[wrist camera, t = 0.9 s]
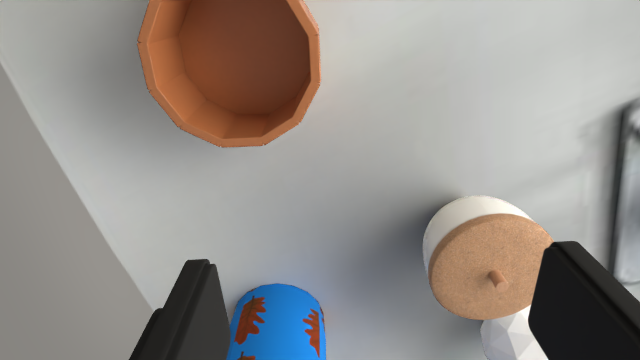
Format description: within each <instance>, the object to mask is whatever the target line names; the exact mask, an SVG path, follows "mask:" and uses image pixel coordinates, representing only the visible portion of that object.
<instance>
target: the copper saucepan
mask: <svg viewBox="0 0 640 360" xmlns="http://www.w3.org/2000/svg"><path fill="white" fill-rule="evenodd" d="M137 41H138V42H139V43H137V46H138V50H139V54H140V59H141V63H142V67H143V71H144V76H145V80H146V84H147V89H148V90H150V91H149V93H150V94H151V95H152V96H153V97H154V99H155V100H156V101H157V102H158V103H159V105H160V106H161V107H162V108H163V110H164V111H165V112H166V113H167V114H168V116H169V117H170V118H171V119H172V120H173V122H174V123H175V124H176V125H177V127H180V126H181V127H180V129H182V130H184V131H186V132H188V133H190V134H192V135H195V136H197V137H199V138H201V139H203V140H205V141H208V142H210V143H212V144H214V145H216V146H218V147H220V146H221V147H246V146H263V144H264V145H266V144H268V143H269V142H271V141H272V140H274V139H276V138H277V137H279V136H280V135H282V134H284V133H285V132H287V131H288V130H290V129H292V128H293V127H295V126H296V125H298V124H299V122H301V121H302V119H303V117H304V115H305V113H306V111H307V109H308V107H309V105H310V103H311V101H312V99H313V97H314V96H315V94H316V92H317V90H318V88H319V86H320V82H321V72H320V44H319V28H318V25H317V23H316V21H315V19H314V18H313V16H312V14H311V13H310V11H309V9H308V7H307V6H306V4H305V3H304V1H303V0H149V3H148V7H147V10H146V13H145V17H144V20H143V23H142V26H141V30H140V33H139V36H138V40H137Z"/></svg>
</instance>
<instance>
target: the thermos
mask: <svg viewBox="0 0 640 360" xmlns="http://www.w3.org/2000/svg"><path fill="white" fill-rule="evenodd" d="M230 332H231V341H230V347H229V351H228V355H227V359H226V360H326V339H325V327H324V316H323V311H322V309H321V307H320V305H319V303H318V301H317V300H315V299H314V298H313V297H312V296H311V295H310V294H309V293H308V292H306V291H304V290H302V289H299V288H297V287H295V286H291V285H284V284H270V285H263V286H260V287H258V288H255V289H253V290H251V291H249V292H247V293H246V294H245V295H244V296H243V297H242V298H241V299H240V300H239V301H238V304H237V307H236V309H235V312H234V315H233V318H232V321H231V324H230Z"/></svg>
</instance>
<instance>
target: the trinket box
mask: <svg viewBox="0 0 640 360" xmlns="http://www.w3.org/2000/svg"><path fill="white" fill-rule="evenodd" d="M553 242H554V241H553V239H552V238H551V237H550V236H549V234H548V233H547V232H546V231H545V230H544V229H543V228H542V227H541V226H539V225H538V224H537V223H535V222H534V221H533V220H532V219H531V218H530V217H529V216H528V215H526V214H525V213H524V212H523V211H521V210H520V209H519V208H517V207H515V206H514V205H512V204H510V203H508V202H506V201H504V200H501V199H498V198H494V197H490V196H480V195H477V196H468V197H463V198H460V199H457V200H454V201H452V202H450V203H448V204H447V205H445V206H444V207H442V208H441V209H440V210H439V211H438V212H437V213H436V214H435V215H434V217H433V218H432V219H431V221H430V222H429V224H428V226H427V229H426V231H425V234H424V239H423V259H424V264H425V269H426V272H427V275H428V279H429V284H430V287H431V289H432V292H433V294H434V296H435V298H436V299H437V301H438V302H439V303H440V304H441V305H442V306H443V307H444V308H446V309H447V310H448V311H450V312H452V313H454V314H456V315H458V316H461V317H465V318H469V319H475V320H489V319H497V318H502V317H506V316H509V315H512V314H514V313H517V312H519V311H521V310H523V309H525V308H526V307H528V306H530V305H531V303H532V299H533V294H534V290H535V286H536V282H537V277H538V273H539V269H540V265H541V260H542V256H543V252H544V250H545V248H548V247H549V246H550V244H551V243H553Z"/></svg>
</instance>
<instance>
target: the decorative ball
mask: <svg viewBox="0 0 640 360" xmlns="http://www.w3.org/2000/svg"><path fill="white" fill-rule="evenodd" d="M530 307H531V305H530V306H528V307H526V308H525V309H523V310H521V311H519V312H517V313H514V314H512V315H509V316H506V317H502V318H497V319H489V320H484V321H483V324H482V327H481V329H480V332H481V337H482V342H483V346H484V351H485V356H486V357H487V358H488V359H489V360H548V358H547V357H546V355H545V353H544V352H543V350H542V349H541V347H540V345H539V344H538V342H537V341H536V339H535V337H534V336H533V334H532V332H531V331H530V328H529V325H528V316H529V311H530Z"/></svg>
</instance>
